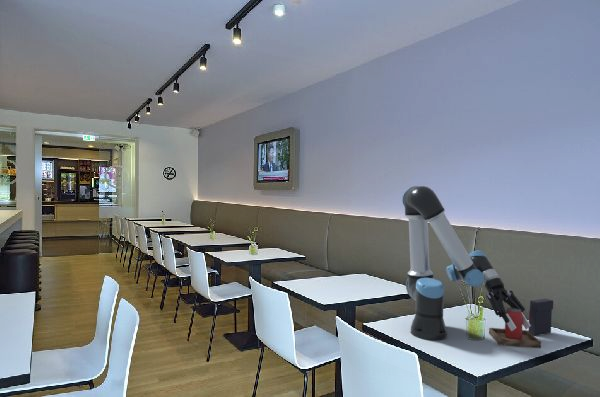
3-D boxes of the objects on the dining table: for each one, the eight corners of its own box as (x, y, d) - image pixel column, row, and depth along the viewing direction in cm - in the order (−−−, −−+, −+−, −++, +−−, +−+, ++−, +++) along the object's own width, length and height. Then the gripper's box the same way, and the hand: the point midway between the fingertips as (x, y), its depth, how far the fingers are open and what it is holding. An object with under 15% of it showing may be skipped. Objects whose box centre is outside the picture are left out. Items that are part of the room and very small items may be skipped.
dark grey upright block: (543, 330, 190) (544, 297, 190) (552, 333, 186) (553, 300, 186) (527, 333, 185) (528, 300, 185) (536, 336, 182) (537, 302, 181)
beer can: (525, 340, 173) (525, 311, 173) (509, 340, 173) (509, 311, 173) (517, 335, 180) (517, 307, 180) (502, 335, 180) (502, 307, 180)
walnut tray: (499, 344, 171) (499, 338, 170) (488, 333, 184) (489, 327, 184) (540, 348, 168) (541, 342, 168) (527, 336, 182) (527, 330, 182)
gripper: (503, 284, 194) (533, 330, 179) (469, 287, 186) (497, 335, 172) (513, 275, 189) (544, 321, 174) (479, 278, 181) (508, 326, 167)
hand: (521, 328), depth 173 cm, fingers open, 7 cm apart
